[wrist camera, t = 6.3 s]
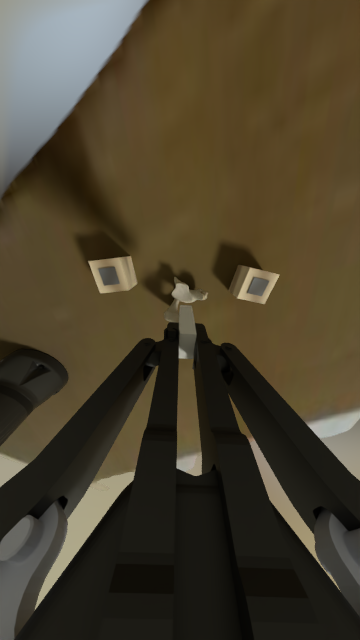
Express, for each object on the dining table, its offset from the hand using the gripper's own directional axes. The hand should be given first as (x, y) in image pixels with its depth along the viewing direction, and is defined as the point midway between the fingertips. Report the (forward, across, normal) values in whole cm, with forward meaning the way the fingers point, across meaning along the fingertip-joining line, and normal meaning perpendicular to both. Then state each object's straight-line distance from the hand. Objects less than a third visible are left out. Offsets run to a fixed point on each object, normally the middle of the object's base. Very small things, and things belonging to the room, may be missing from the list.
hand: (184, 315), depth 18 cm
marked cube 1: (+12, +12, +3) cm, 17 cm away
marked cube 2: (+11, -12, +3) cm, 17 cm away
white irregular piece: (+12, 0, 0) cm, 12 cm away
